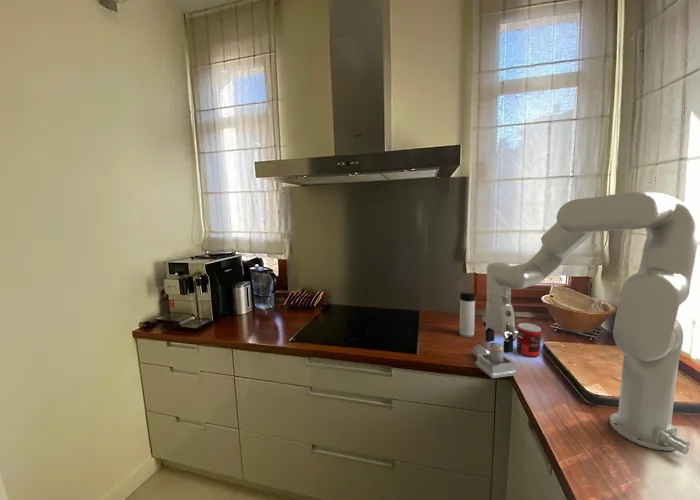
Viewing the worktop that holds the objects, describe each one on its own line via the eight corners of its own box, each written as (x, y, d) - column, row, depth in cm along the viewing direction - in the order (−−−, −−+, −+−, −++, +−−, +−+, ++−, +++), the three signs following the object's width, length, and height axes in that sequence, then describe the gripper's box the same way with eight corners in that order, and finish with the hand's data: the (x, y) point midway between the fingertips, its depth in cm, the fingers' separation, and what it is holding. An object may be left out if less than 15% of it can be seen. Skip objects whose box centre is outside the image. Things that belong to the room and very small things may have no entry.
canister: (506, 369, 108) (506, 347, 107) (494, 370, 107) (495, 348, 106) (497, 362, 112) (498, 341, 111) (486, 364, 111) (486, 343, 110)
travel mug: (458, 336, 139) (459, 293, 136) (460, 331, 144) (460, 290, 142) (473, 338, 136) (474, 294, 133) (474, 333, 142) (475, 291, 139)
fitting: (518, 374, 106) (518, 362, 105) (492, 378, 104) (492, 366, 103) (488, 354, 121) (489, 343, 121) (465, 356, 119) (466, 346, 119)
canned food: (518, 347, 127) (519, 321, 125) (541, 352, 122) (542, 325, 120) (514, 354, 121) (515, 327, 119) (538, 359, 116) (539, 331, 114)
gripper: (526, 304, 99) (526, 355, 100) (492, 292, 115) (492, 336, 117) (506, 306, 97) (506, 358, 99) (474, 294, 114) (474, 338, 116)
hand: (498, 346), depth 108 cm, fingers open, 9 cm apart
